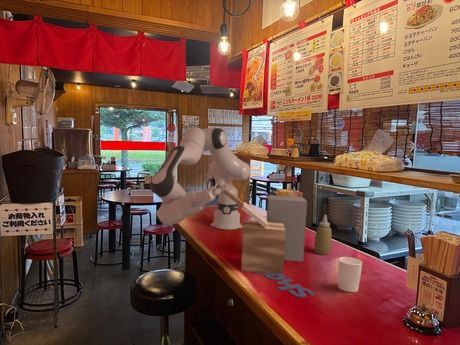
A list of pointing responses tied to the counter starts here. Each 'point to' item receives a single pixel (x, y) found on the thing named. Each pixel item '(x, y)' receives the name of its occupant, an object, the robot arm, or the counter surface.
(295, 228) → the carton
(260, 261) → the box
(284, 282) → the signage
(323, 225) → the squeeze bottle
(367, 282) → the counter surface
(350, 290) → the white cup
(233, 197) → the lid flap
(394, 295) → the counter surface
